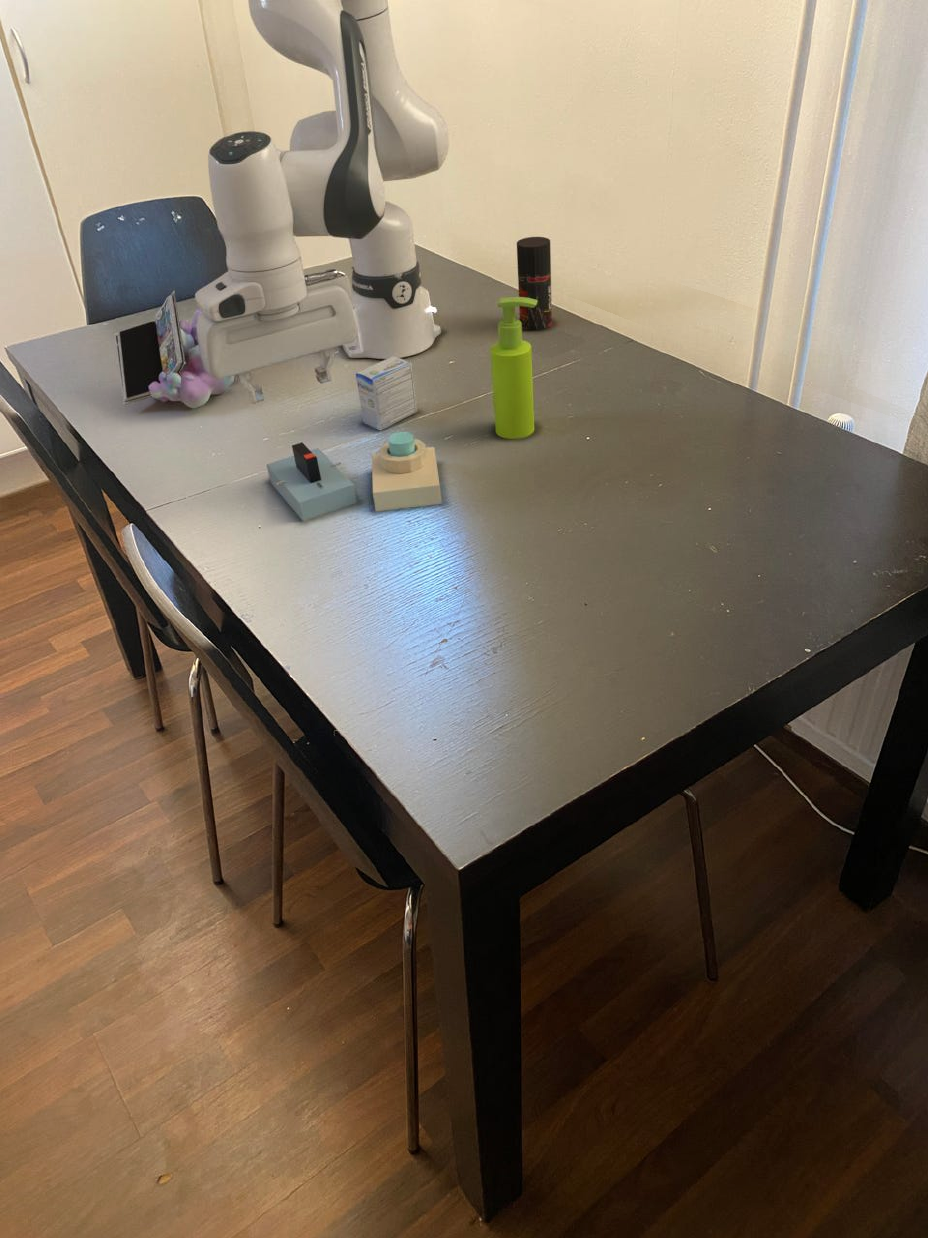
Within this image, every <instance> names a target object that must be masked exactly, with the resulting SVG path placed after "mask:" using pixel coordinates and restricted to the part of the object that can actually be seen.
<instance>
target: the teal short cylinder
mask: <svg viewBox="0 0 928 1238" xmlns="http://www.w3.org/2000/svg"><path fill="white" fill-rule="evenodd" d="M414 439H415V436H414V434H412V433H411V432H409V431H399V432H395V433H392V434H390V435H389V436H388V438H387V442H388V445H389V452H390V455H391V456H396V457H403V456H408V455H411V454H413V453H414V452H415V443H414Z"/></svg>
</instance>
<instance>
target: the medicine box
mask: <svg viewBox="0 0 928 1238" xmlns="http://www.w3.org/2000/svg"><path fill="white" fill-rule="evenodd" d="M413 374H414V373H413V365H412V363H411V362H409V361H407V360H405V359H403V358H397V357H390V358H388V359H383V360H382V361H379V362H377V363H375V364H372V365H370V366H368V367H365V368H364V369H361V370H360V371H357V372H356V373H355V379H356V387H357V391H358V398H359V403H360V404H359V405H360V409H361V416H362V417H361V418H362V422H363V424H365V425H367V426H368V427H371V428H373V429H376V430H378V431H383V430H384V429H386V428H388V427H391V426H393V425H394V424H396V423H398V422H400V421H402V420H405V419H406V418H409V417H410V416H412V415H414V414H416V413H417V412H418V407H417V399H416V392H415V384H414V383H415V382H414V375H413Z"/></svg>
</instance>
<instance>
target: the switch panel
mask: <svg viewBox="0 0 928 1238" xmlns="http://www.w3.org/2000/svg"><path fill="white" fill-rule="evenodd" d="M309 450H310V451H311V452H312V453H313V454H314V455H315V456H316V457H317V461H318V466H319V471H320V475H321V480H319V481H316V482H313V483H310V482H309V481H308V480H307V478H306V477H305V476H304V475H303V474H302V473H301V472H300V471H299V470H298V468H297V467H296V463H295V458H294V455H291V456H288V457H285V458H283V459H282V458H281V459H279V460H276V461H273V462H270V463H267V464H266V469H267V473H268V477H269V481H270V483H271V484H272V486H273V488H275V490H277V492H278V493H279V494H280V496H281V497H282V498H283V499H284V500H285V501H286V503H287V504H288V505H289V506H290V508H291V509H292V510H293V512H295V514H296V515H297V516H298V517H299V518H300V520H301V521H302V522H305V521H309V520H312V519H314V518H317V517H320V516H322V515H323V516H324V515H326V514H328V513H332V512H335V511H337V510H340V509H344V508H346V507H348V506H349V507H350V506H352V505H354V504H357V502H358V501H357V496H356V491H355V490H356V489H355V485H354V483H353V481H351V480H350V479H349V478H348V477H347V476H346V475H345V474H344V472H342V471H341V470H340V469H339V468H338V467H337V466H339V465H341V464H342V462H341V461H339V462H335V463H333V462H332V461H331V460H330V459H329V457H327V456H326V455H325V453H323V452H322V450H320V448H319V447H316V448H313V449H309Z"/></svg>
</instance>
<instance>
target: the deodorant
mask: <svg viewBox="0 0 928 1238" xmlns="http://www.w3.org/2000/svg"><path fill="white" fill-rule="evenodd" d="M551 253H552V252H551V239H549V238H548V237H545V236H529V237H528V236H527V237H524V238H521V239H519V240H517V241H516V259H517V282H518V283H517V285H518V297H526V298H531V299H535V300H538V302H537V304H536V306H535V307H534V308H531V307H525V306H518V307H519V310H518V311H519V321H521V323H522V330H525V331H532V332H537V331H543V330H547V329H549V328H551V326H552V325H553V312H552V311H553V309H552V308H553V305H552V304H553V303H552V260H551V258H552V255H551Z"/></svg>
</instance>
